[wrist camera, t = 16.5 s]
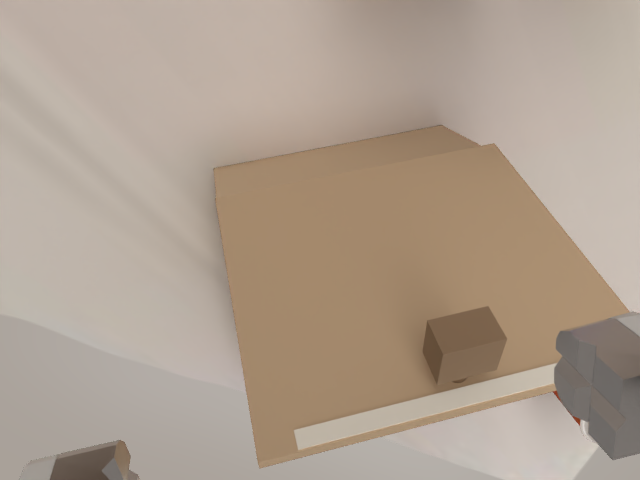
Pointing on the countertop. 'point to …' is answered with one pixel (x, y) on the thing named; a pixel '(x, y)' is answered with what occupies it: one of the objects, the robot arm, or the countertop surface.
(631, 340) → the robot arm
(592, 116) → the countertop surface
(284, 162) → the carton
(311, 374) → the lid flap
